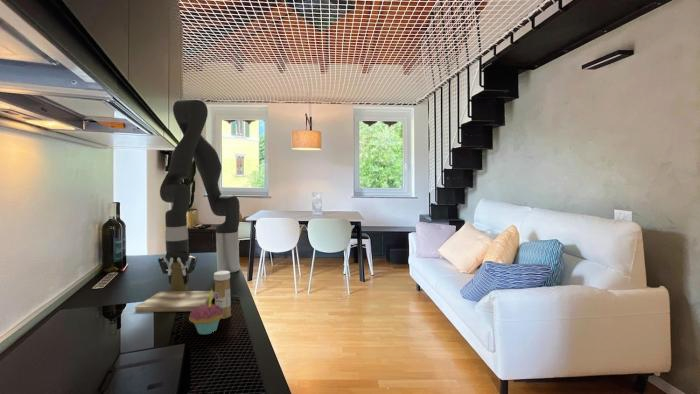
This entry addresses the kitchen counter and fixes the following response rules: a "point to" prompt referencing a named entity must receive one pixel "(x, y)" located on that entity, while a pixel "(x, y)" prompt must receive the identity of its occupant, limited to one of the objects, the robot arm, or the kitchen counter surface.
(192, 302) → the birch board
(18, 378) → the kitchen counter surface
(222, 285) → the sprinkles bottle
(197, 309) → the cupcake
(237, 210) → the robot arm
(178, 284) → the cork
